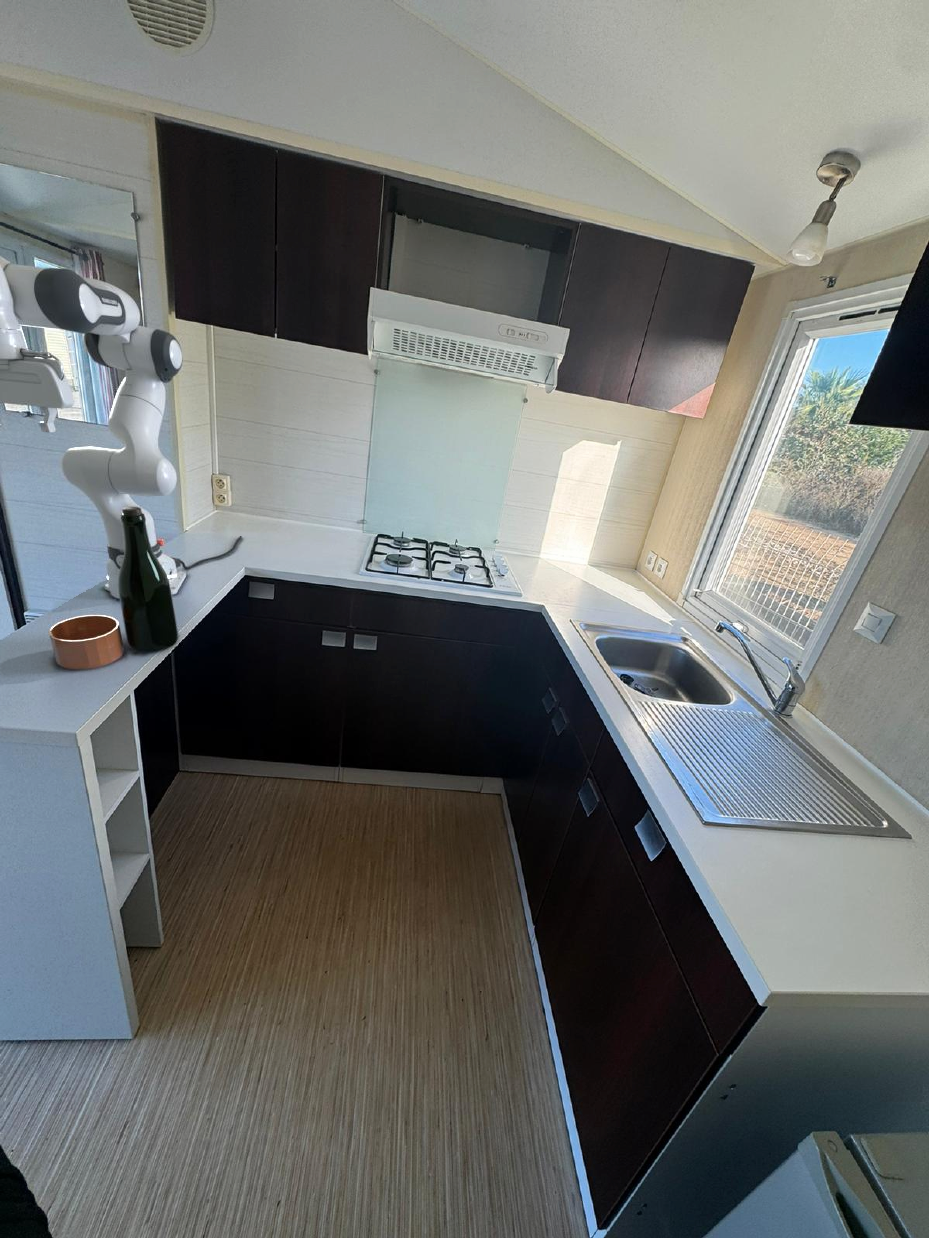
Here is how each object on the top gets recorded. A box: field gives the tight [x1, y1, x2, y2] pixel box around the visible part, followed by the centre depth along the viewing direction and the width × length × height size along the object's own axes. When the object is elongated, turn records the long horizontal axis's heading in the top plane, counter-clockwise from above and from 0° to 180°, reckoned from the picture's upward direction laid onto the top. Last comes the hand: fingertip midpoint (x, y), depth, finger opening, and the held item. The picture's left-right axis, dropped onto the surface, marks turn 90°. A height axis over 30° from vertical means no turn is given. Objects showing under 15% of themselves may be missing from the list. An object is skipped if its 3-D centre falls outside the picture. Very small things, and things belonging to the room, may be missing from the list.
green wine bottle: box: [118, 507, 179, 653], centre depth 109 cm, size 10×10×33 cm
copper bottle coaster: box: [48, 614, 125, 671], centre depth 107 cm, size 12×12×7 cm
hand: (22, 429), depth 91 cm, fingers open, 8 cm apart
